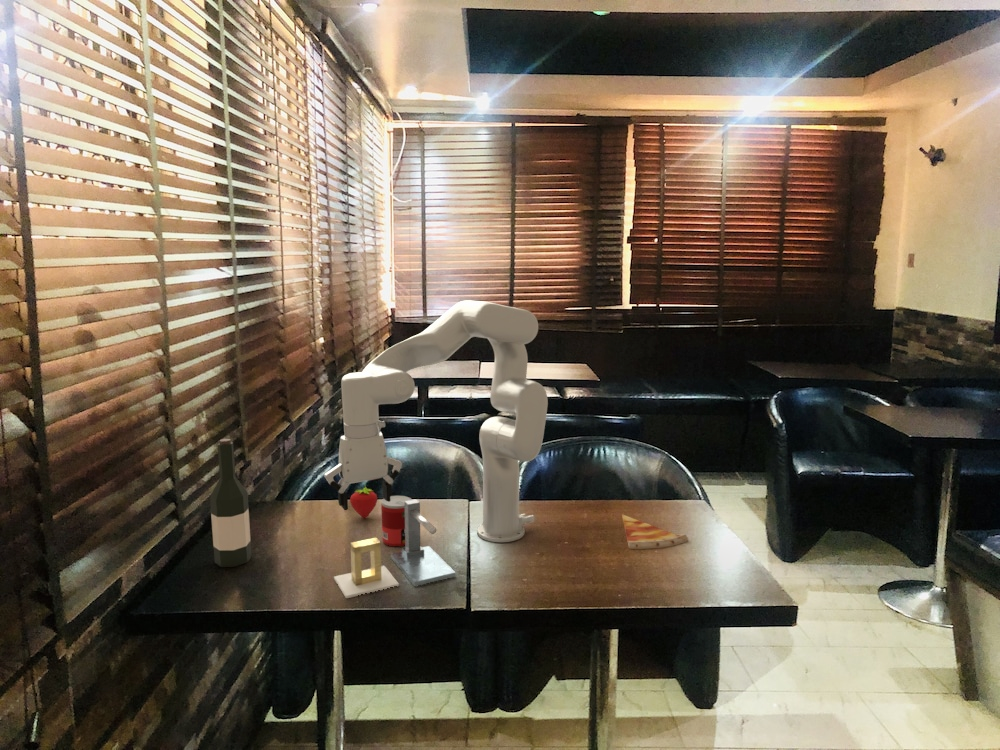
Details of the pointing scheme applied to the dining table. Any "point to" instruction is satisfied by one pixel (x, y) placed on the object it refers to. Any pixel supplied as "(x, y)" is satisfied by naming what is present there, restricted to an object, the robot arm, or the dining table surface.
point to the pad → (352, 590)
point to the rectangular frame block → (375, 556)
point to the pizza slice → (649, 535)
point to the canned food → (394, 520)
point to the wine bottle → (229, 513)
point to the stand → (419, 551)
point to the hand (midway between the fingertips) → (365, 503)
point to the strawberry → (363, 501)
